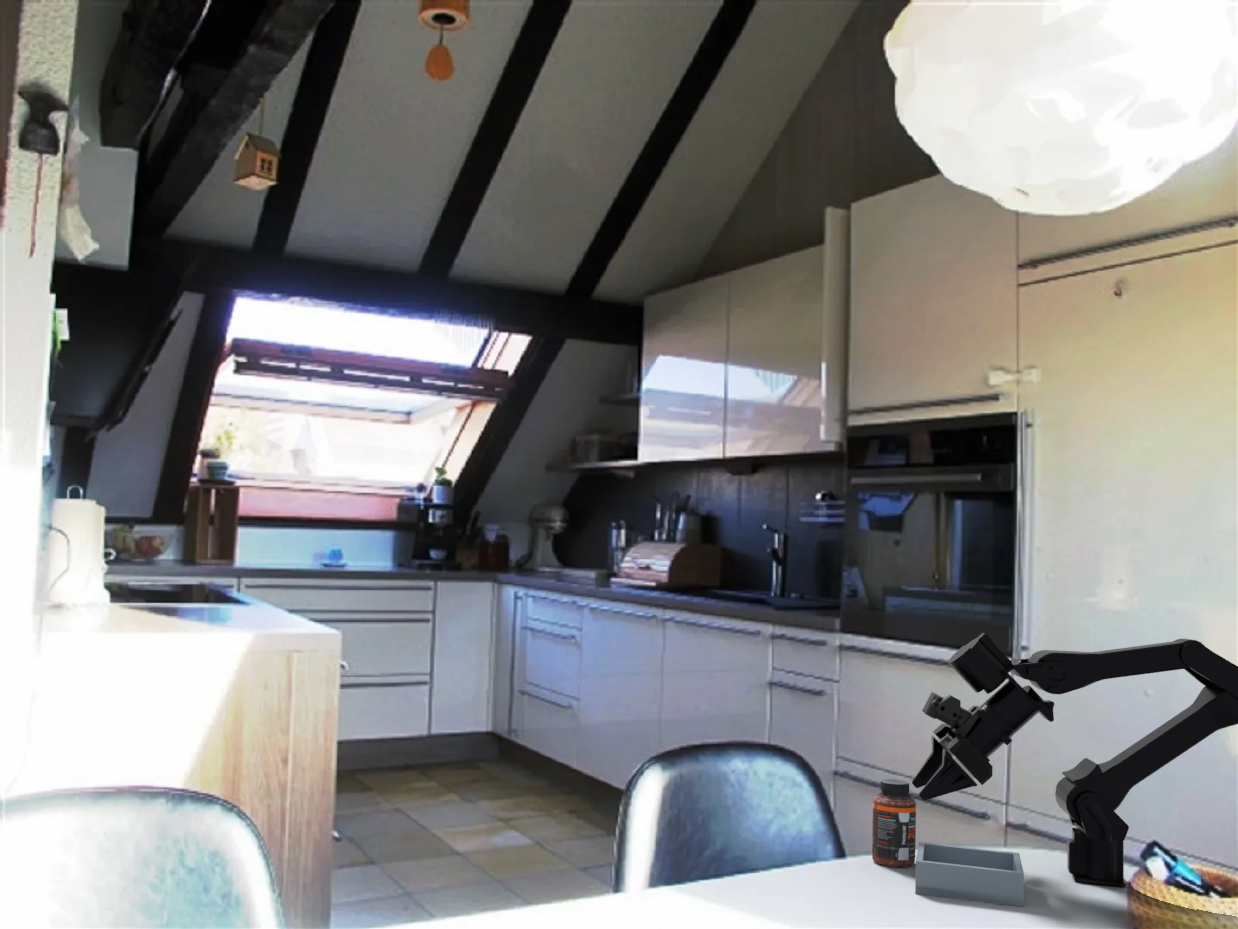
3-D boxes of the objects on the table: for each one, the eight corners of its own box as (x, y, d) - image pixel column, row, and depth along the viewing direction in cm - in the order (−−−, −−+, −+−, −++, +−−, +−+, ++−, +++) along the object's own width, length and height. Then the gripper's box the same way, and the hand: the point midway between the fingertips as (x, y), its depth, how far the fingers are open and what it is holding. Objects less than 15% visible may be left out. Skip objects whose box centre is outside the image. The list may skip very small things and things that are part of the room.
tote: (1019, 884, 145) (1019, 853, 146) (1023, 907, 135) (1023, 873, 135) (918, 872, 149) (918, 842, 150) (915, 893, 139) (915, 861, 139)
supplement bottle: (916, 870, 150) (917, 786, 151) (872, 866, 151) (873, 783, 153) (913, 860, 156) (915, 779, 157) (871, 856, 157) (872, 776, 158)
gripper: (949, 669, 164) (872, 738, 165) (968, 680, 146) (882, 758, 147) (1003, 726, 162) (925, 795, 163) (1029, 744, 144) (941, 823, 145)
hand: (917, 791), depth 154 cm, fingers open, 9 cm apart
